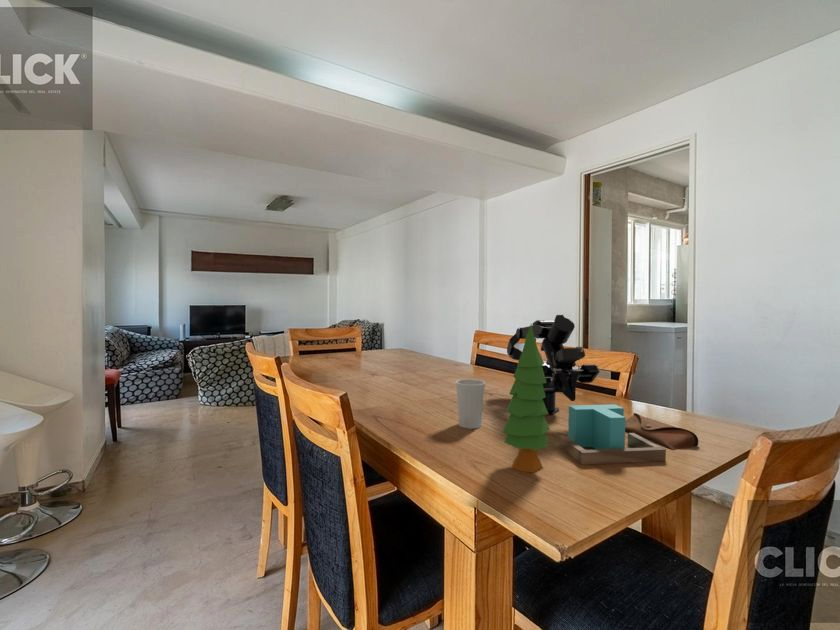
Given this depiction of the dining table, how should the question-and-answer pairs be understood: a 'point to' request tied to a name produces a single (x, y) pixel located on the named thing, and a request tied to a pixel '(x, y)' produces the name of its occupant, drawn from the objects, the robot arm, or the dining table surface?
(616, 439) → the t block
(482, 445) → the dining table surface
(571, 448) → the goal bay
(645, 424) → the sunglasses case
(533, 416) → the decorative tree
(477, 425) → the cup
